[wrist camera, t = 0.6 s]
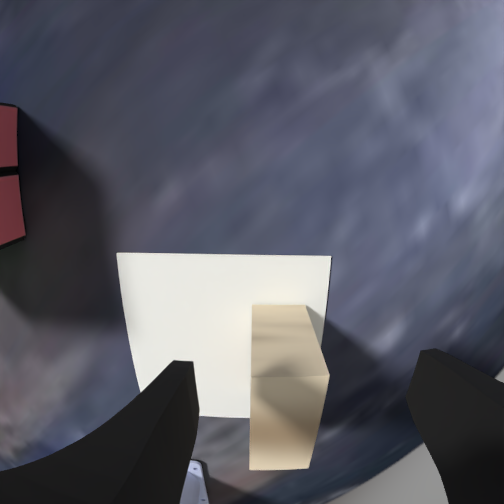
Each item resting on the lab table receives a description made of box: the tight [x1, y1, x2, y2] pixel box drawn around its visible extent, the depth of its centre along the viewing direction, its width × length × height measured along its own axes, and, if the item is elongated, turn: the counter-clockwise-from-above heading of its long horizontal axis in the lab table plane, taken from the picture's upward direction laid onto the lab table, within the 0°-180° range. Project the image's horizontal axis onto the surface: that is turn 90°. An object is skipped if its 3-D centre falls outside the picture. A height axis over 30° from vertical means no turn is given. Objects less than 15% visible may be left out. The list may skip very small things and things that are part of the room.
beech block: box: [250, 304, 330, 470], centre depth 16 cm, size 7×3×7 cm, turn 179°
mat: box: [117, 253, 331, 418], centre depth 20 cm, size 13×13×1 cm
